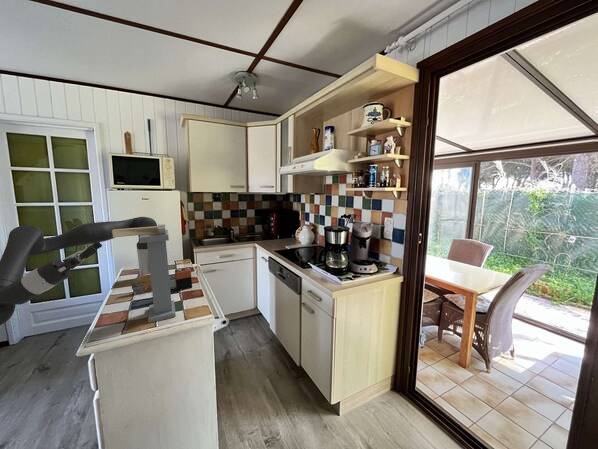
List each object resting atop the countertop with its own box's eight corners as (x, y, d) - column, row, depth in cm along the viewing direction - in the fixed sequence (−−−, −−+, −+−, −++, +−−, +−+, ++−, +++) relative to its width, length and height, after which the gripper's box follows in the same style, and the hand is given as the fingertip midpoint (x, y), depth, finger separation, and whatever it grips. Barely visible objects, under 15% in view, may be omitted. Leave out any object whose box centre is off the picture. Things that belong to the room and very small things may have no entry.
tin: (132, 295, 115) (130, 278, 113) (132, 293, 117) (130, 276, 116) (169, 288, 123) (167, 271, 121) (168, 286, 125) (167, 269, 124)
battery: (175, 287, 123) (174, 268, 121) (190, 284, 127) (189, 265, 125) (177, 291, 119) (175, 270, 118) (192, 287, 123) (191, 268, 121)
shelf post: (149, 308, 103) (141, 231, 97) (174, 303, 107) (167, 229, 102) (148, 323, 92) (139, 237, 87) (175, 316, 96) (168, 235, 91)
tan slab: (115, 234, 93) (115, 227, 92) (165, 230, 100) (164, 224, 100) (111, 239, 84) (110, 232, 84) (165, 234, 92) (165, 228, 91)
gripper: (64, 277, 89) (109, 249, 94) (47, 293, 76) (101, 259, 81) (46, 261, 86) (94, 233, 91) (26, 274, 73) (83, 241, 79)
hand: (97, 246), depth 86 cm, fingers open, 8 cm apart
